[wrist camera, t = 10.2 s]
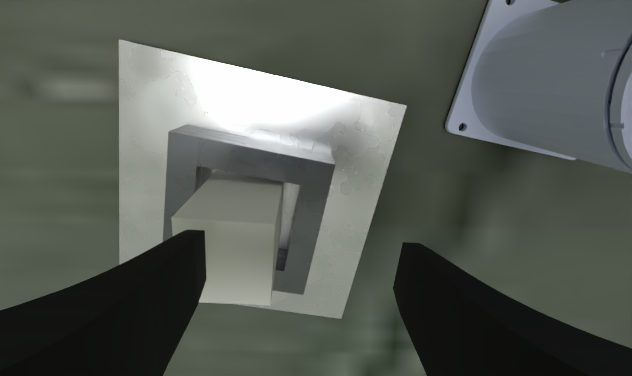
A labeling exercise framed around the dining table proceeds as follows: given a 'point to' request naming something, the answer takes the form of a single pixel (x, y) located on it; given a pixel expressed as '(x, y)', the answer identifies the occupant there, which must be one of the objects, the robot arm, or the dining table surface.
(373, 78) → the dining table surface
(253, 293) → the plug
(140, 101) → the socket
